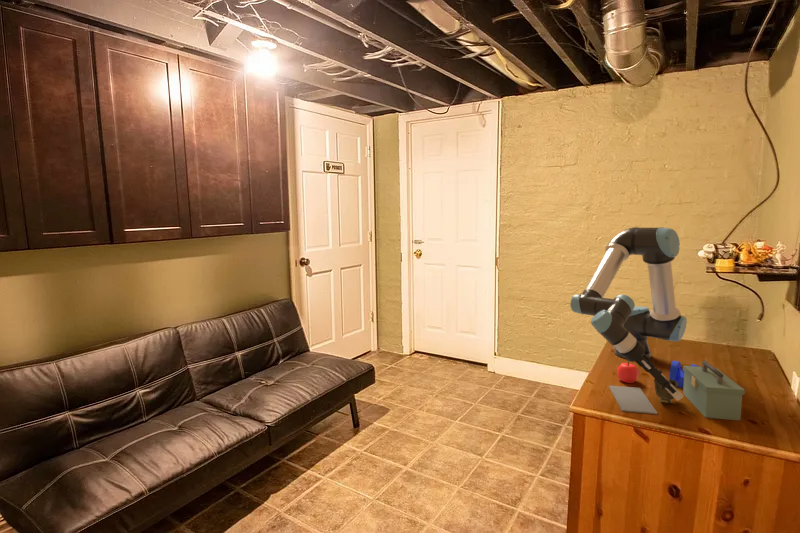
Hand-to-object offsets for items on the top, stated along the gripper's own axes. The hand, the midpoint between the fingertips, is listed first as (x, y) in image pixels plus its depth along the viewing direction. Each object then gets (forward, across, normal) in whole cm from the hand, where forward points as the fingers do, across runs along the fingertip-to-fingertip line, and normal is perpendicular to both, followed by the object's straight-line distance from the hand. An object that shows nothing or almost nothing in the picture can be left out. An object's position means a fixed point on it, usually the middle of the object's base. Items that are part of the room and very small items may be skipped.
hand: (676, 393), depth 157 cm
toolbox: (+10, 0, +5) cm, 11 cm away
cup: (0, 0, -5) cm, 5 cm away
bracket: (+11, -24, +5) cm, 27 cm away
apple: (-5, -19, -11) cm, 23 cm away
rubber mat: (-8, 0, -13) cm, 15 cm away
